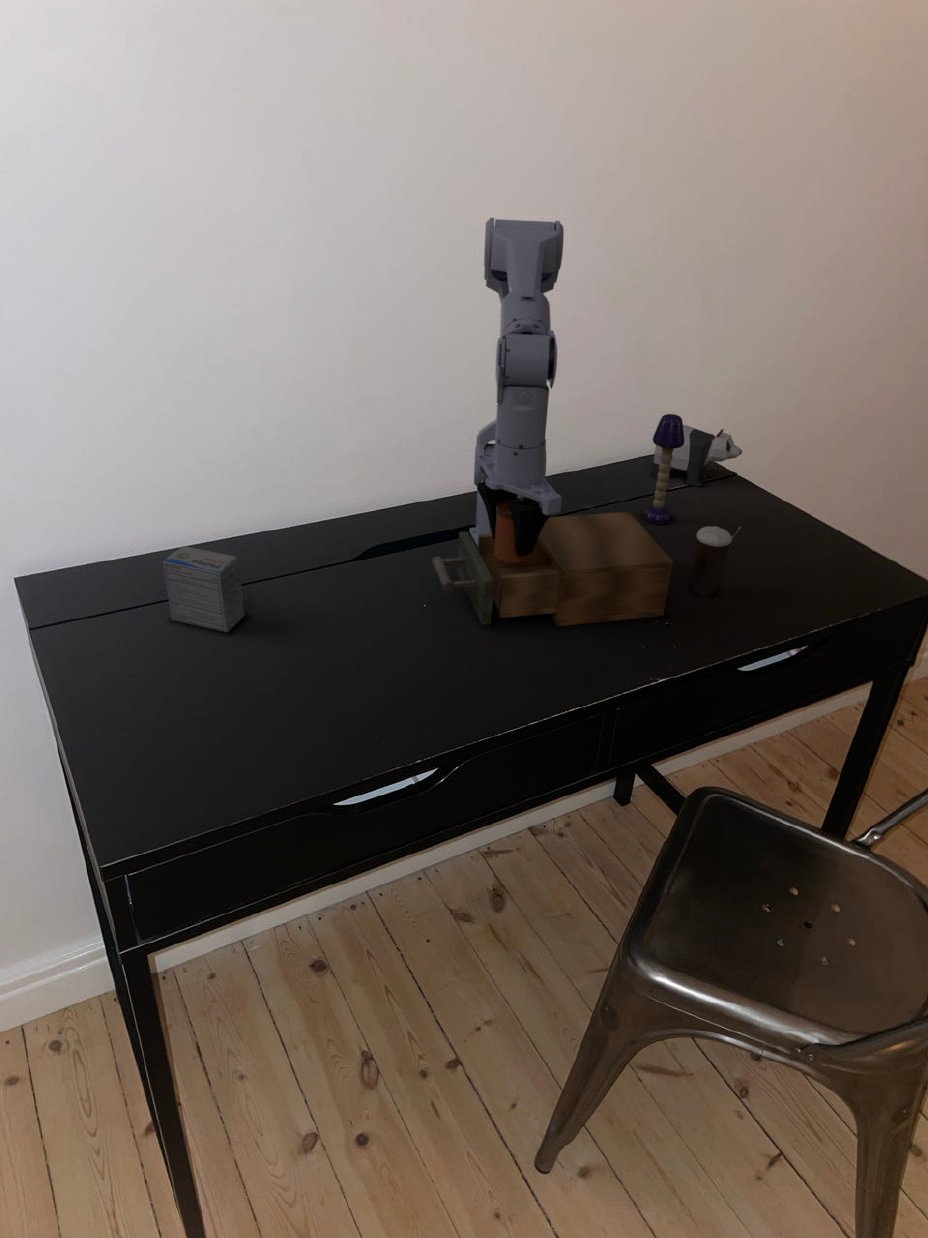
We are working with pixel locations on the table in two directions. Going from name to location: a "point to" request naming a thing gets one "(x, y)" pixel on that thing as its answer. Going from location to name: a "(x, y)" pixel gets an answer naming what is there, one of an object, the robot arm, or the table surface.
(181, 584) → the medicine box
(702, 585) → the milkshake
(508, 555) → the spice jar
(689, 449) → the giant panda
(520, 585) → the drawer
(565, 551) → the cabinet
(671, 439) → the toy lamp
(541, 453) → the robot arm
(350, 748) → the table surface
